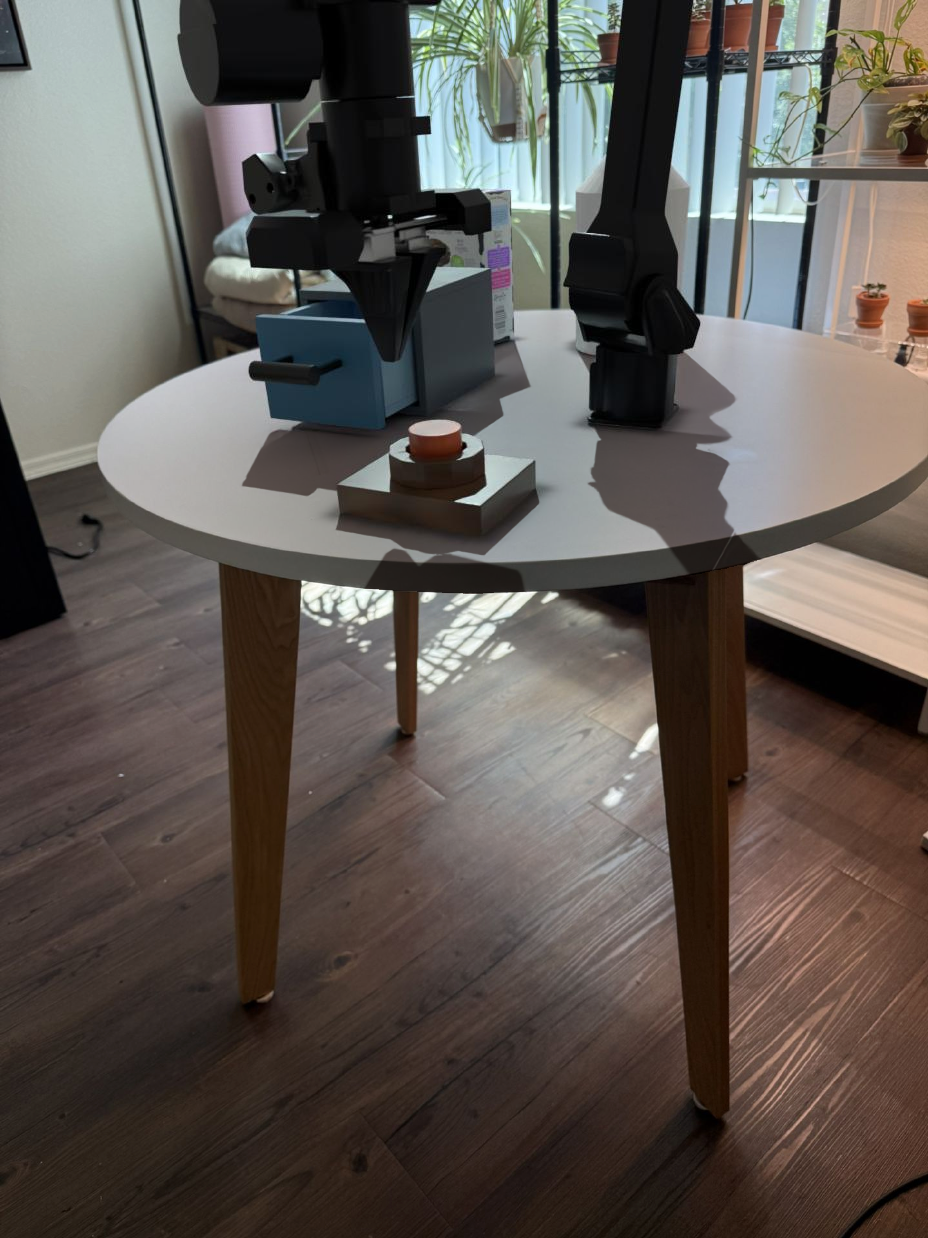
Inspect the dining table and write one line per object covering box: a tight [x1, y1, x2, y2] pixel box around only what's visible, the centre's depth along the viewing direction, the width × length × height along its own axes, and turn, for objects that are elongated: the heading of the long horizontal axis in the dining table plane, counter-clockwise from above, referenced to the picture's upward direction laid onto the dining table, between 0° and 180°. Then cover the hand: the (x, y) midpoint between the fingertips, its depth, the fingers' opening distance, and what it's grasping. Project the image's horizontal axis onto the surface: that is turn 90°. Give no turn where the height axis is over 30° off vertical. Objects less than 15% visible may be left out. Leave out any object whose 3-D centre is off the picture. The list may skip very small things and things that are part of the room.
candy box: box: [426, 188, 515, 345], centre depth 104 cm, size 14×6×16 cm, turn 48°
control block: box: [335, 433, 537, 538], centre depth 61 cm, size 11×9×4 cm
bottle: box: [575, 154, 691, 356], centre depth 94 cm, size 12×12×25 cm
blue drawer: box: [247, 300, 419, 431], centre depth 77 cm, size 18×11×9 cm, turn 153°
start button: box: [407, 419, 463, 458], centre depth 60 cm, size 4×4×2 cm
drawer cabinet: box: [298, 267, 496, 417], centre depth 85 cm, size 15×13×11 cm
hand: (391, 360), depth 61 cm, fingers closed
